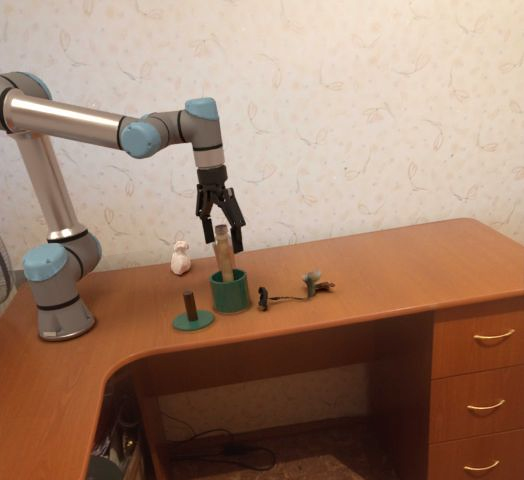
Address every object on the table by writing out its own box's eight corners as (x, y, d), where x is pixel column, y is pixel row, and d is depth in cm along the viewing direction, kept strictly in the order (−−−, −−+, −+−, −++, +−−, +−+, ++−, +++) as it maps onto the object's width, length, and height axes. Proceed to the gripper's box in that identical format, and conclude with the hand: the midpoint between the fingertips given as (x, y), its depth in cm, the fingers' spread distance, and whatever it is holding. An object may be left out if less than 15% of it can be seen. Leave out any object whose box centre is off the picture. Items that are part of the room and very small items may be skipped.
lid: (164, 326, 146) (157, 296, 142) (196, 310, 153) (190, 280, 148) (191, 337, 139) (185, 305, 134) (223, 319, 146) (217, 289, 141)
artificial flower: (255, 308, 153) (252, 273, 151) (328, 300, 158) (326, 266, 156) (263, 312, 144) (260, 275, 142) (340, 303, 150) (338, 267, 147)
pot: (207, 309, 153) (201, 278, 148) (232, 295, 159) (228, 266, 154) (232, 318, 146) (227, 286, 141) (258, 303, 152) (254, 272, 148)
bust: (187, 282, 178) (203, 252, 175) (167, 273, 174) (182, 243, 171) (180, 271, 188) (194, 242, 185) (161, 262, 184) (175, 233, 181)
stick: (225, 305, 152) (214, 238, 142) (232, 301, 154) (222, 235, 144) (232, 308, 150) (221, 240, 140) (239, 304, 152) (229, 236, 142)
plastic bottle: (238, 294, 159) (229, 229, 149) (217, 294, 161) (206, 230, 151) (243, 285, 165) (235, 222, 155) (223, 285, 166) (212, 223, 156)
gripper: (252, 167, 126) (263, 252, 136) (197, 159, 144) (210, 235, 154) (226, 174, 122) (239, 261, 133) (173, 165, 140) (188, 242, 151)
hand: (224, 247), depth 144 cm, fingers open, 13 cm apart
